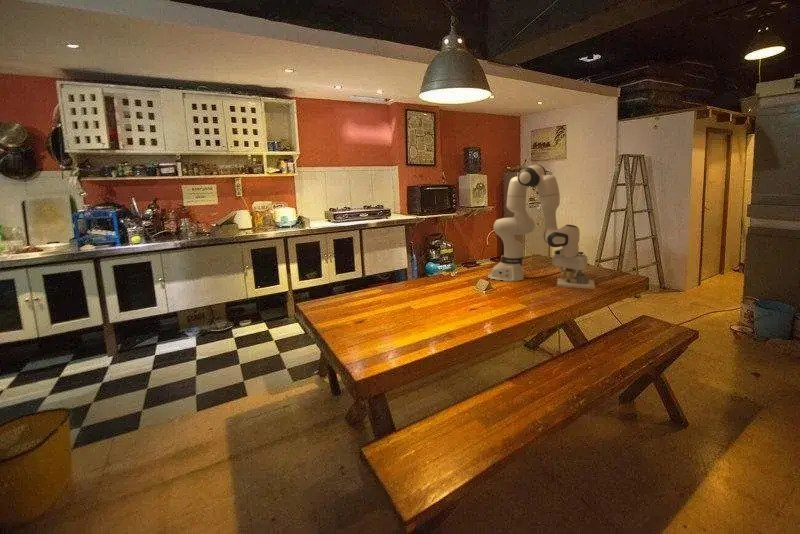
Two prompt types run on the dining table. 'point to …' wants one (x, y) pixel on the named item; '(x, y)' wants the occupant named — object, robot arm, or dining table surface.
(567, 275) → the brass gear
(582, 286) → the gear board
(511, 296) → the dining table surface
